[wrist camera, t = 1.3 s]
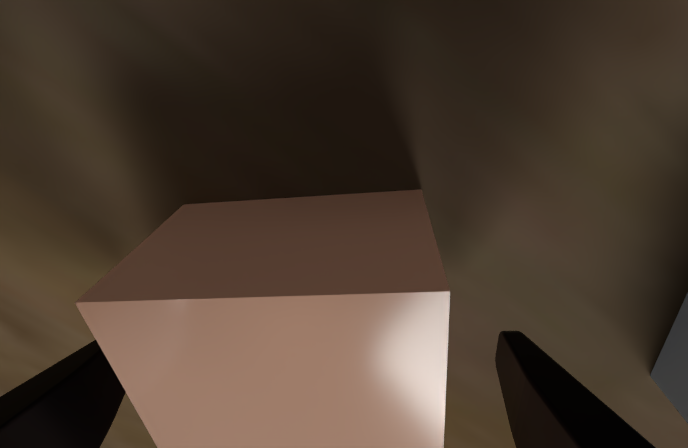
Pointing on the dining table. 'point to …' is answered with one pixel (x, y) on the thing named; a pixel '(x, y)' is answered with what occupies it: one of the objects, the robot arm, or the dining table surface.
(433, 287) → the terracotta block
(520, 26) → the dining table surface
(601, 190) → the dining table surface
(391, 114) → the dining table surface
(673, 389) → the grey blue cube
